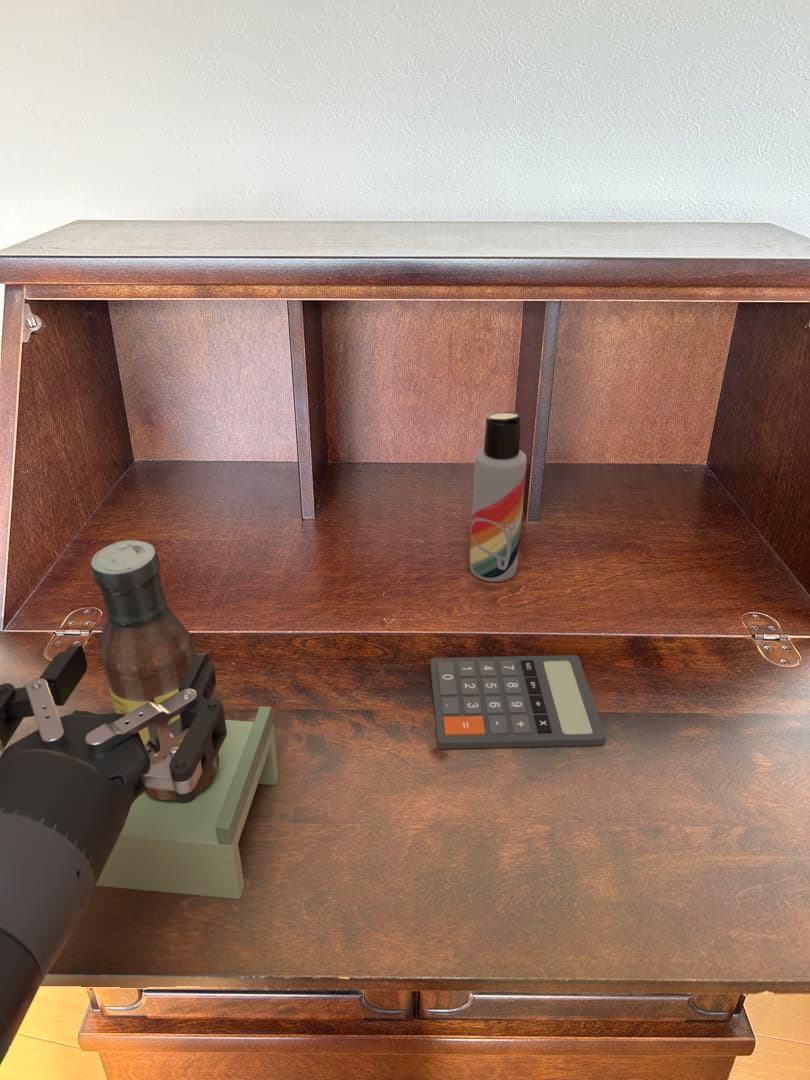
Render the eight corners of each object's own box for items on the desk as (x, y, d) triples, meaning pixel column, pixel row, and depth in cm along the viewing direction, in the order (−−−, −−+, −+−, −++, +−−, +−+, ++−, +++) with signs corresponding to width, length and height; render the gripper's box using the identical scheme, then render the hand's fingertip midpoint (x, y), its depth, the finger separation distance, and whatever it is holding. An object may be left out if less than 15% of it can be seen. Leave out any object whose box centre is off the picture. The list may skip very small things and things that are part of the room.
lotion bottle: (483, 587, 93) (494, 427, 83) (460, 563, 98) (468, 408, 87) (525, 576, 95) (541, 419, 85) (501, 553, 100) (513, 400, 89)
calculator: (430, 656, 81) (578, 653, 81) (429, 663, 81) (577, 660, 82) (438, 741, 71) (606, 737, 71) (437, 749, 71) (605, 745, 72)
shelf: (83, 885, 60) (59, 813, 56) (143, 763, 70) (128, 696, 66) (240, 900, 59) (228, 828, 55) (279, 774, 69) (271, 706, 65)
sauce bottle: (222, 739, 64) (187, 524, 54) (219, 801, 59) (181, 575, 49) (137, 749, 63) (86, 532, 53) (127, 812, 58) (67, 585, 48)
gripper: (144, 830, 37) (240, 619, 51) (-147, 806, 38) (25, 606, 52) (169, 929, 41) (252, 708, 55) (-96, 904, 42) (51, 694, 56)
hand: (141, 659), depth 53 cm, fingers open, 8 cm apart
